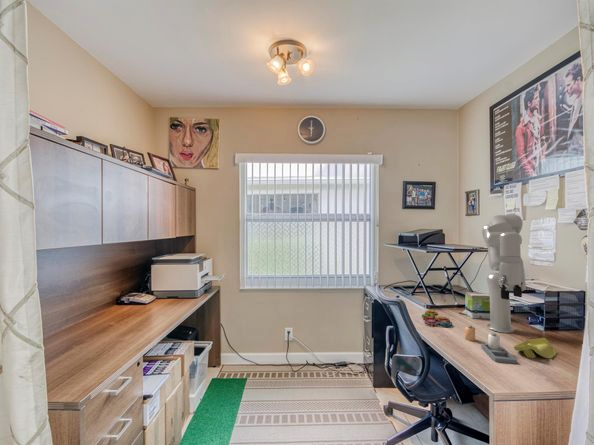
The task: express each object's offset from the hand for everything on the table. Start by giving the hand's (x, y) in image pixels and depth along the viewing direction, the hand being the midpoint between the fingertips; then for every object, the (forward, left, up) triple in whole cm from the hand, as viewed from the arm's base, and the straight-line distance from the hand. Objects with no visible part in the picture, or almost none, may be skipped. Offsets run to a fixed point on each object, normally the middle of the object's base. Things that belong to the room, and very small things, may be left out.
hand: (511, 297), depth 132 cm
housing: (+4, -7, -26) cm, 27 cm away
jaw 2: (0, -7, -25) cm, 26 cm away
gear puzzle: (-49, -23, -26) cm, 60 cm away
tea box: (-60, +7, -26) cm, 66 cm away
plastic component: (-3, +9, -26) cm, 28 cm away
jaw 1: (-13, -13, -26) cm, 32 cm away
